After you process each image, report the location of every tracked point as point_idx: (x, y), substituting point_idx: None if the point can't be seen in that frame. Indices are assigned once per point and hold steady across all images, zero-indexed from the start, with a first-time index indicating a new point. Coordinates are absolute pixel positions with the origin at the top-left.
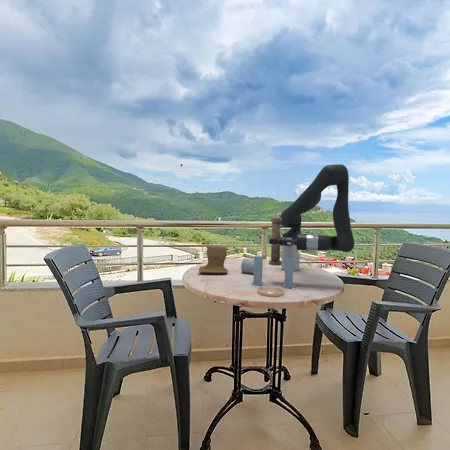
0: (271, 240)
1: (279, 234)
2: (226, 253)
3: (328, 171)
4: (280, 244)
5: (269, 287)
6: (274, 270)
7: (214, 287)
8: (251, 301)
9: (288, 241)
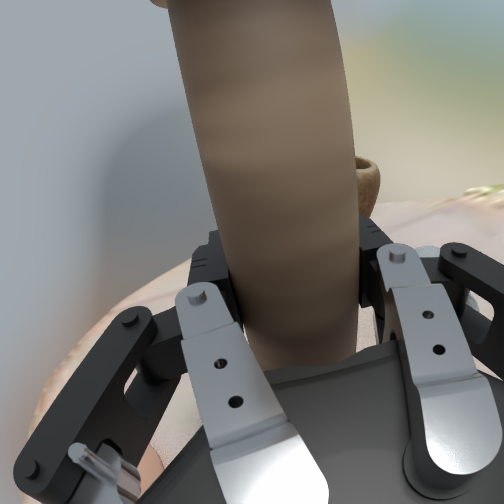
0: (194, 255)
1: (244, 210)
2: (360, 199)
3: None
4: (136, 378)
5: (151, 470)
6: None
7: (155, 313)
8: (32, 420)
9: (37, 448)
